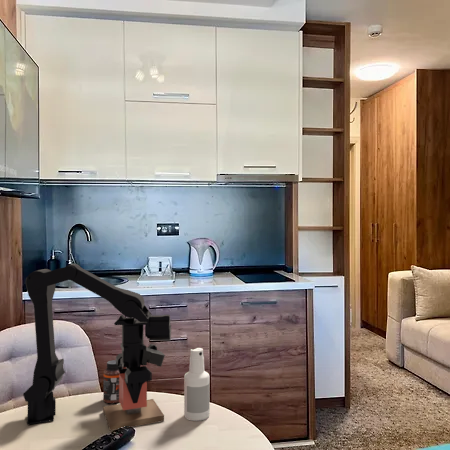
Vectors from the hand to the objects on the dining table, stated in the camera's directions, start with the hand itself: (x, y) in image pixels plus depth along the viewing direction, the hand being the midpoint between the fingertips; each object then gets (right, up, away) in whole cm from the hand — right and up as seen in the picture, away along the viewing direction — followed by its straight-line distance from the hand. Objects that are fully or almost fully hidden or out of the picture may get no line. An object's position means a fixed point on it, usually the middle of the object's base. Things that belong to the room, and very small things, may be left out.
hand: (132, 398), depth 119 cm
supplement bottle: (-8, -5, +11) cm, 15 cm away
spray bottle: (+17, -5, 0) cm, 18 cm away
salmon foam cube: (0, -2, 0) cm, 2 cm away
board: (0, -5, 0) cm, 5 cm away
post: (0, -3, 0) cm, 3 cm away
